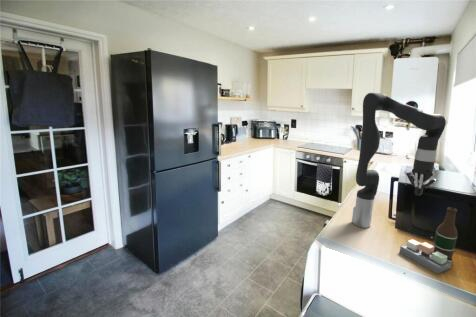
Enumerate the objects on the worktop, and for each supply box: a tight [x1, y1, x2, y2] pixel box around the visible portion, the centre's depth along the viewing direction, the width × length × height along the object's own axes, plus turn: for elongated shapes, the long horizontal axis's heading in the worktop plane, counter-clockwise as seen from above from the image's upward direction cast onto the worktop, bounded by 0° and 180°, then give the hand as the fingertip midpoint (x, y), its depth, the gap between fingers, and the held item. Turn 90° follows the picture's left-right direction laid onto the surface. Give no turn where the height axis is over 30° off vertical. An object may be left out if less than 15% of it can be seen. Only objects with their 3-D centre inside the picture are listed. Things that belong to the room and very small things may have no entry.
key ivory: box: [406, 238, 422, 251], centre depth 123 cm, size 4×4×3 cm
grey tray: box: [399, 244, 452, 274], centre depth 118 cm, size 17×9×5 cm, turn 25°
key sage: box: [431, 251, 448, 264], centre depth 113 cm, size 4×4×3 cm
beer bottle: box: [432, 206, 458, 260], centre depth 120 cm, size 8×8×24 cm
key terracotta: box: [419, 241, 435, 254], centre depth 118 cm, size 4×4×3 cm
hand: (417, 195), depth 120 cm, fingers closed
